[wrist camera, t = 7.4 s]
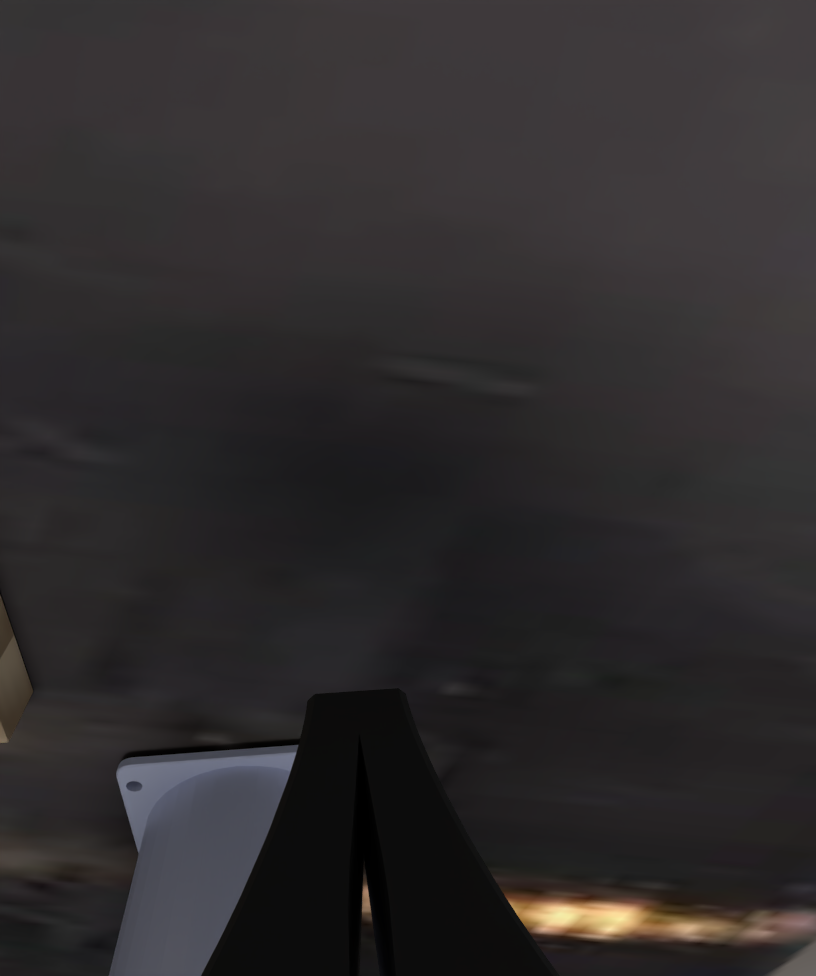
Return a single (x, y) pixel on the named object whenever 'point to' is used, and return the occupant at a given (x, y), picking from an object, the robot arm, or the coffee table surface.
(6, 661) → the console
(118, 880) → the coffee table surface
